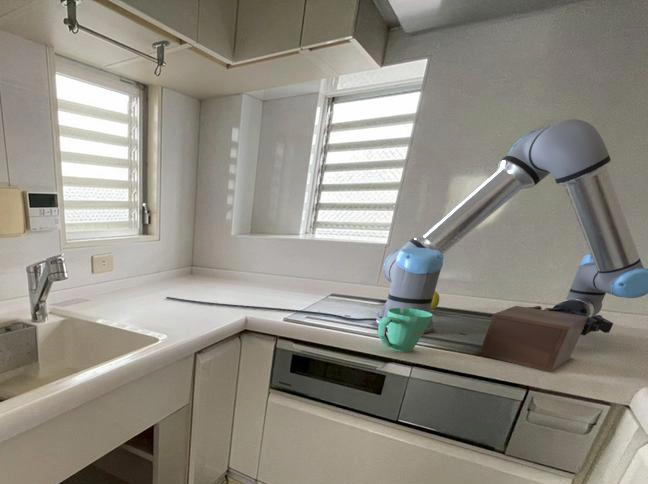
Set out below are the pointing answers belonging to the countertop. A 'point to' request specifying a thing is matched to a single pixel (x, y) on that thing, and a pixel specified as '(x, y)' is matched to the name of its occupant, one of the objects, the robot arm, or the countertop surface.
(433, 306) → the lemon
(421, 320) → the mug
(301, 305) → the countertop surface
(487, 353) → the cabinet
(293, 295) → the countertop surface
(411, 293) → the robot arm
